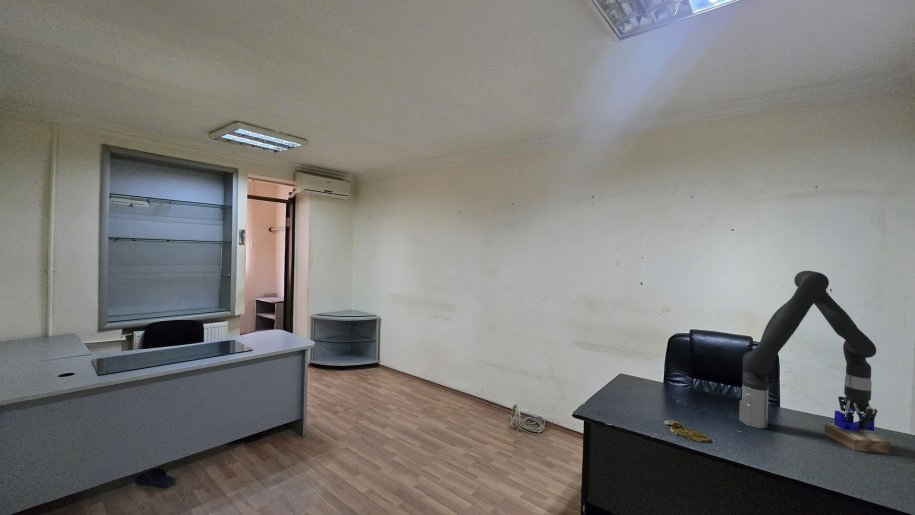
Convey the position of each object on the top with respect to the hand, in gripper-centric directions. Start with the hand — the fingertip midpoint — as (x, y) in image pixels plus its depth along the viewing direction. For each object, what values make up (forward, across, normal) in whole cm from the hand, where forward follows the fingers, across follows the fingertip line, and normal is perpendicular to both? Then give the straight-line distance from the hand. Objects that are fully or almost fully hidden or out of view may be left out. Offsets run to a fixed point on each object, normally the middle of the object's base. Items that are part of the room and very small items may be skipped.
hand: (855, 426), depth 150 cm
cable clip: (+1, 0, 0) cm, 1 cm away
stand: (+7, 0, 0) cm, 7 cm away
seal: (+8, -2, +67) cm, 68 cm away
